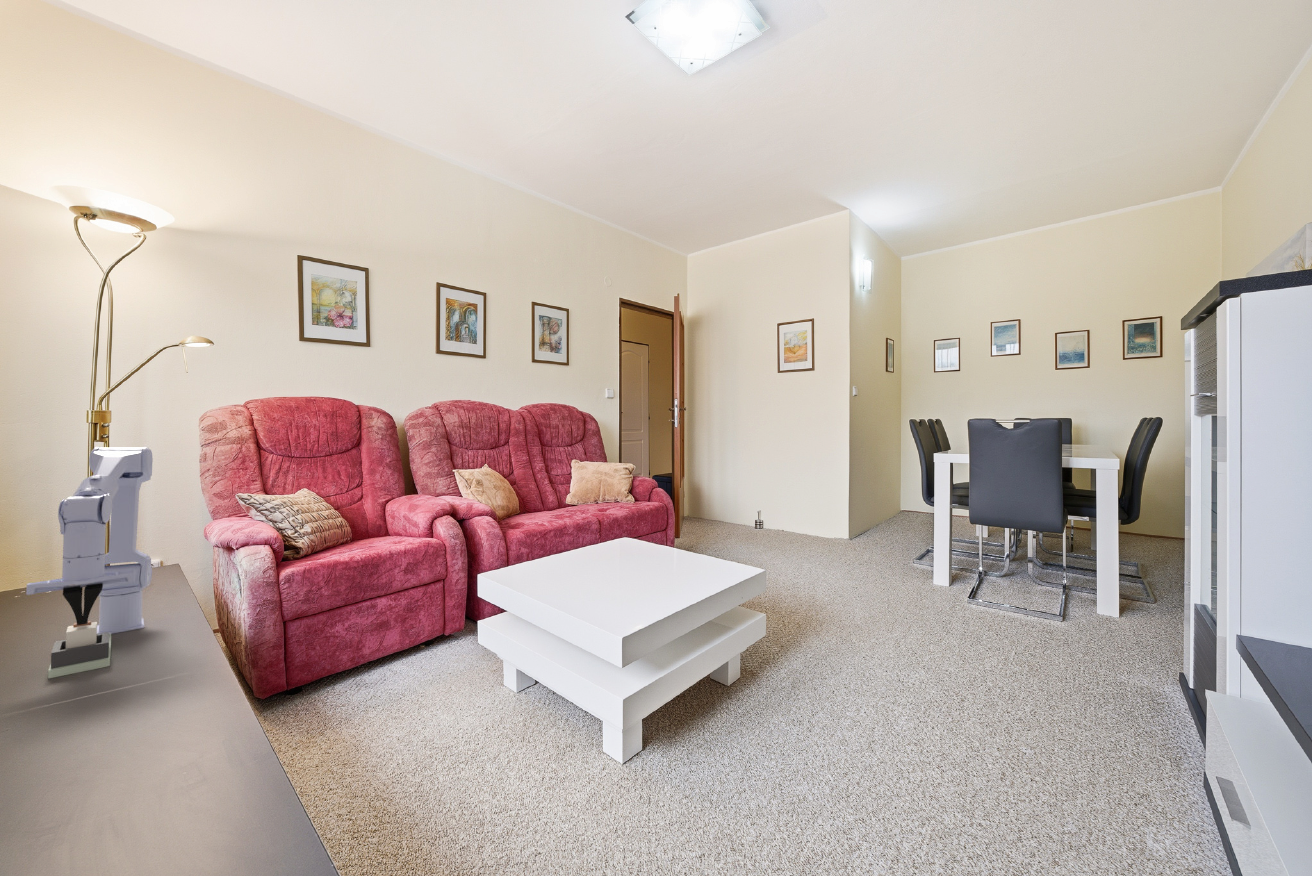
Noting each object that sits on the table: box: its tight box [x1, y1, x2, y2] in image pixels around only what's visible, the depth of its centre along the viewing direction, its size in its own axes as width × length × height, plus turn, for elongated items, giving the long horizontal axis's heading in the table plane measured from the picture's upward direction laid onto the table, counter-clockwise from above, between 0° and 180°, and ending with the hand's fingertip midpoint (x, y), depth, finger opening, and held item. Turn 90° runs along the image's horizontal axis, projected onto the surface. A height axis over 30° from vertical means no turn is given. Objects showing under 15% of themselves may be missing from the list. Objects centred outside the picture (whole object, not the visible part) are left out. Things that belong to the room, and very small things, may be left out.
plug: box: [65, 620, 98, 649], centre depth 104 cm, size 5×4×6 cm
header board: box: [47, 632, 112, 680], centre depth 107 cm, size 20×8×4 cm, turn 46°
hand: (82, 623), depth 104 cm, fingers closed
